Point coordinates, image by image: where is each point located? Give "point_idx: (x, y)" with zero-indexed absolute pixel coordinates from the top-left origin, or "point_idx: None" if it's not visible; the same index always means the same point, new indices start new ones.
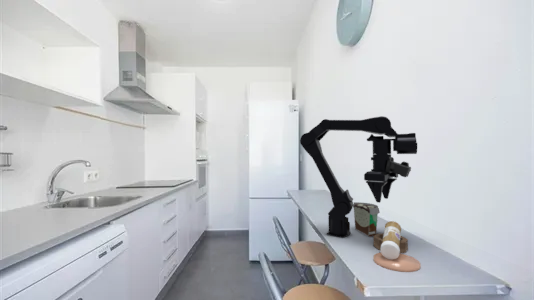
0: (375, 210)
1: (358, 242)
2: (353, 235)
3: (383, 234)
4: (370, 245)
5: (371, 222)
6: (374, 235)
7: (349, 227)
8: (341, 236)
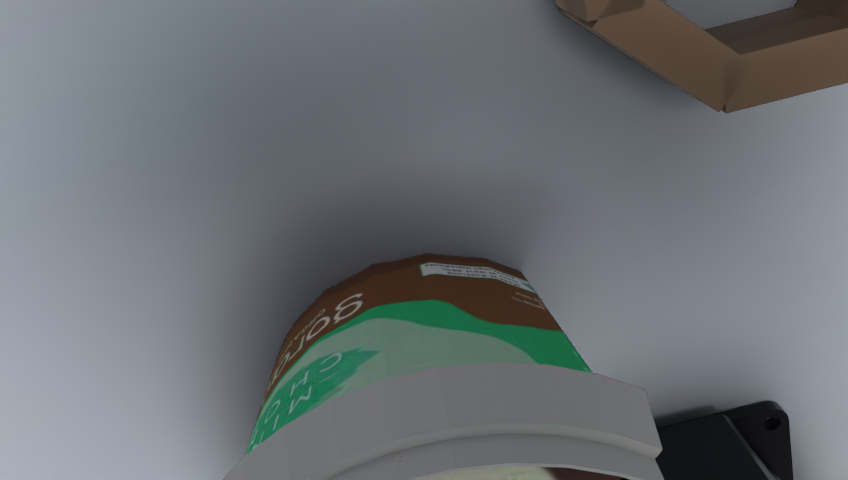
0: (537, 414)
1: (804, 226)
2: None
3: (699, 30)
4: None
5: (540, 337)
6: (835, 85)
7: (676, 477)
8: (786, 425)
